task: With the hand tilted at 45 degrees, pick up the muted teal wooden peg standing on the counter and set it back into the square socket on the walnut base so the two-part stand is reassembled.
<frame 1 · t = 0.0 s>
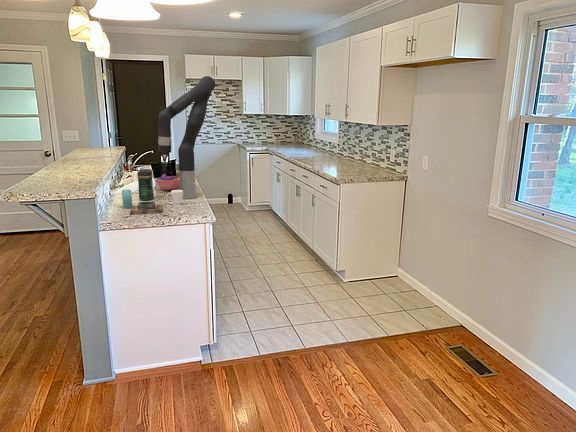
hand: (164, 171, 266), 17 cm above the worktop, tool pointing down, fingers open, 8 cm apart
cup: (175, 204, 255), on the worktop
teal peg: (128, 207, 247), on the worktop
walnut base: (147, 211, 239), on the worktop
coffee jar: (146, 199, 268), on the worktop
cell model: (170, 190, 296), on the worktop
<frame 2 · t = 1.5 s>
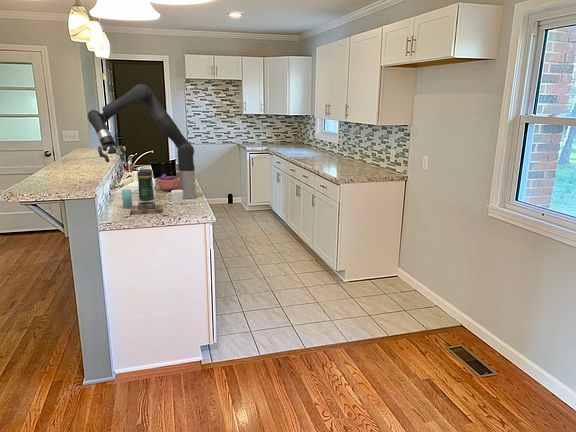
hand: (116, 161, 249), 25 cm above the worktop, tool tilted 45°, fingers open, 8 cm apart
nothing on the worktop moved.
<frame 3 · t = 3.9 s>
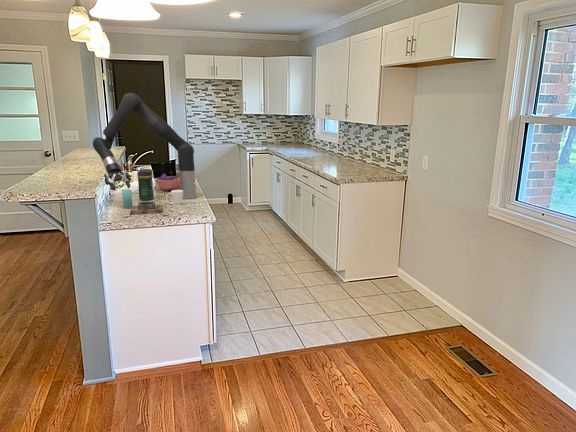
hand: (121, 188, 249), 10 cm above the worktop, tool tilted 45°, fingers open, 8 cm apart
nothing on the worktop moved.
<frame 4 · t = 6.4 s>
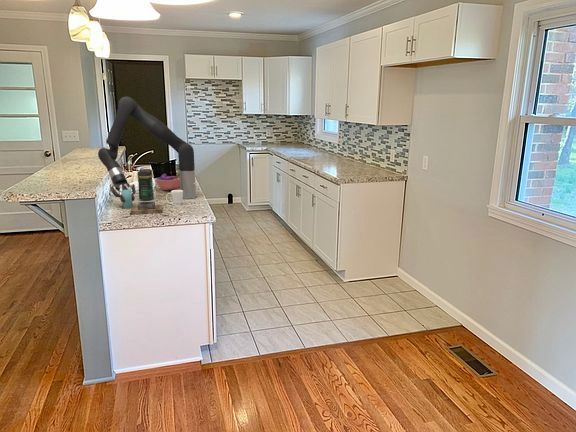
hand: (128, 200, 245), 4 cm above the worktop, tool tilted 45°, fingers closed on teal peg, 5 cm apart
teal peg: (128, 207, 247), on the worktop, touching gripper
everything else where it was.
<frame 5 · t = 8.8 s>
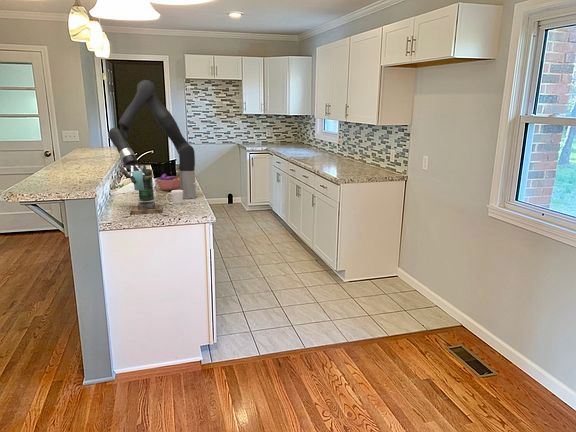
hand: (140, 182, 237), 16 cm above the worktop, tool tilted 45°, fingers closed on teal peg, 5 cm apart
teal peg: (139, 189, 239), point 12 cm above the worktop, touching gripper
everything else where it was.
when the fingers open (8 cm above the worktop, at t = 11.6 s): teal peg drops 1 cm, resting on walnut base.
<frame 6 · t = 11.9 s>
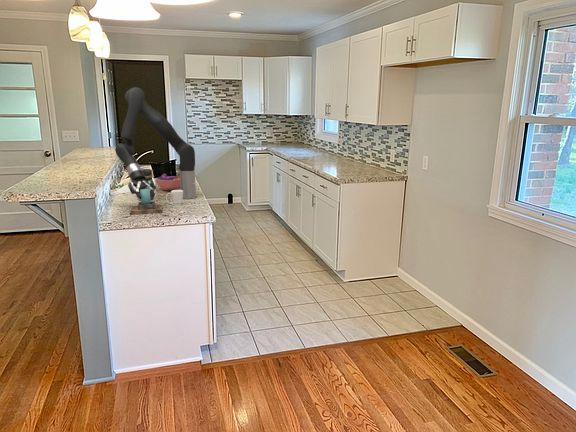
hand: (147, 197, 236), 8 cm above the worktop, tool tilted 45°, fingers open, 7 cm apart
teal peg: (146, 207, 239), point 2 cm above the worktop, touching walnut base
everything else where it was.
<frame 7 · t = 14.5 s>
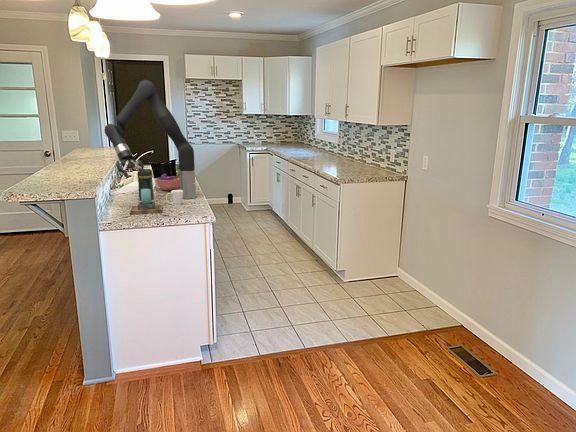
hand: (134, 176, 243), 18 cm above the worktop, tool tilted 45°, fingers open, 8 cm apart
nothing on the worktop moved.
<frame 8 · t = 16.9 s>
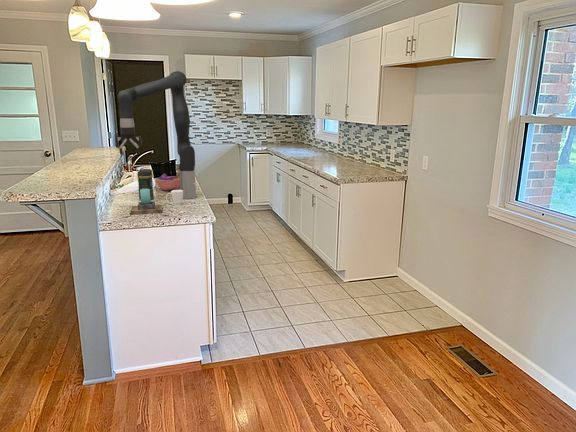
hand: (129, 154, 254), 28 cm above the worktop, tool pointing down, fingers open, 8 cm apart
nothing on the worktop moved.
at the end: teal peg 0.1 cm off-centre on the walnut base, point 2.1 cm above the walnut base's base; teal peg tilted 2°; the gripper is holding nothing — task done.
